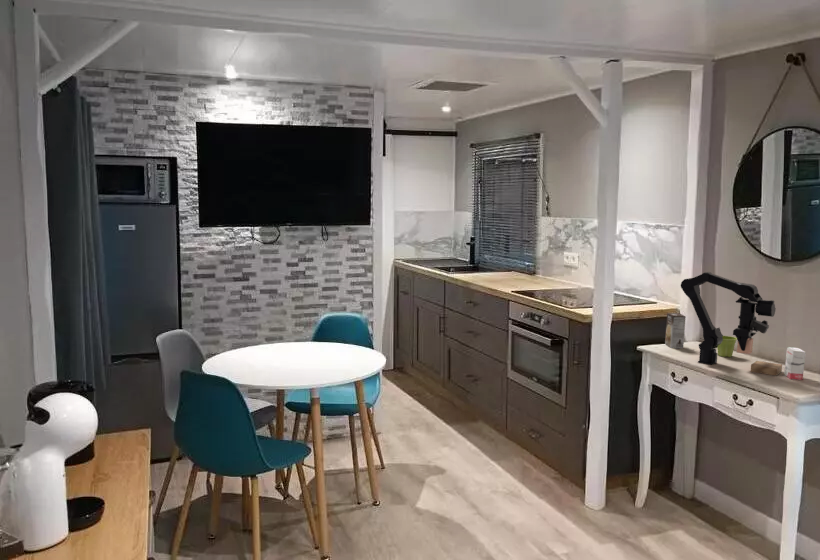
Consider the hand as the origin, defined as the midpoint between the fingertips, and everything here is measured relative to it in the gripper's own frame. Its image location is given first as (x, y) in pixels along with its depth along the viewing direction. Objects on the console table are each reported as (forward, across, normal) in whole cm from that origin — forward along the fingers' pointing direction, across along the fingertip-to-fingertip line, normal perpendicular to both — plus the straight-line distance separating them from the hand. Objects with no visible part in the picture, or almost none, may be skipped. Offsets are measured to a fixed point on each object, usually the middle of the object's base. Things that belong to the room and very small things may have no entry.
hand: (744, 349), depth 305 cm
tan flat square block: (+8, +1, -9) cm, 12 cm away
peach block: (+1, 0, 0) cm, 1 cm away
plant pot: (+8, +22, +13) cm, 27 cm away
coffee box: (+8, +27, +38) cm, 48 cm away
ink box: (+9, -2, -20) cm, 22 cm away
